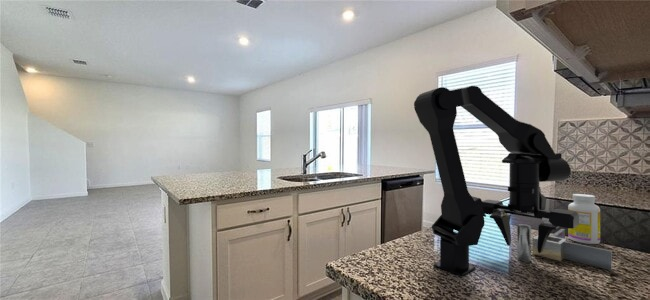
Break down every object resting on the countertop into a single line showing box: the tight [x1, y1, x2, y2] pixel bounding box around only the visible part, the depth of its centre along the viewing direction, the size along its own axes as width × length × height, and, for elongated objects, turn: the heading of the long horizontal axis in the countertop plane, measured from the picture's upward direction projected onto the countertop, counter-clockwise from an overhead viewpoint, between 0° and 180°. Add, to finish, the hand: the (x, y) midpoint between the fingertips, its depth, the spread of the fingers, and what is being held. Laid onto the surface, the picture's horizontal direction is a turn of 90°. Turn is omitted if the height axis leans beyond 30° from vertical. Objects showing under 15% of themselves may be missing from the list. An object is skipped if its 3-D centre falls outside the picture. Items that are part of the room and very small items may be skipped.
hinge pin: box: [516, 223, 532, 263], centre depth 66 cm, size 3×3×8 cm
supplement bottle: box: [567, 193, 601, 245], centre depth 79 cm, size 7×7×13 cm
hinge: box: [532, 228, 613, 271], centre depth 69 cm, size 15×13×4 cm
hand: (523, 248), depth 66 cm, fingers open, 6 cm apart
